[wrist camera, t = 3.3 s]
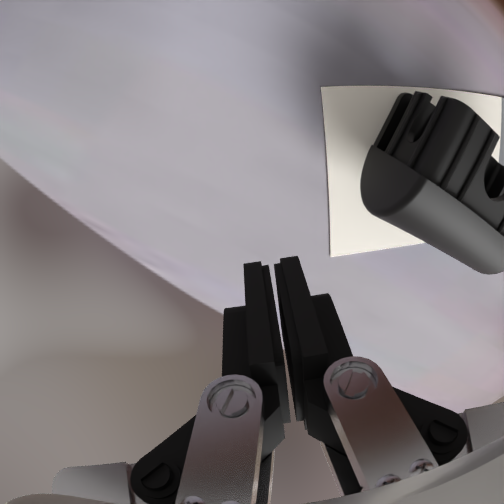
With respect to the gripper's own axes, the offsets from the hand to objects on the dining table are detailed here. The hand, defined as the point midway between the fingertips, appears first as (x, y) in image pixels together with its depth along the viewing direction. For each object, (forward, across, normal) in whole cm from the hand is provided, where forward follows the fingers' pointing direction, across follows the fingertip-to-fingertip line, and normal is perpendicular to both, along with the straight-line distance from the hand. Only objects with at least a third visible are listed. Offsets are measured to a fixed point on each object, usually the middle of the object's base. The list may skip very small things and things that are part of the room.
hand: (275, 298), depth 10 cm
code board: (+10, -11, 0) cm, 15 cm away
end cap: (+10, -11, 0) cm, 15 cm away
